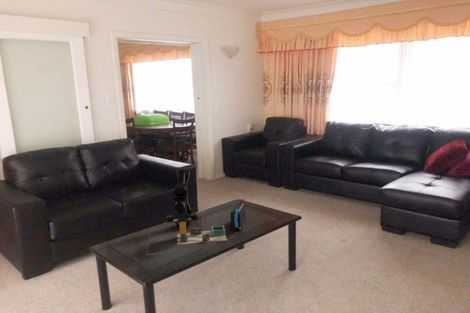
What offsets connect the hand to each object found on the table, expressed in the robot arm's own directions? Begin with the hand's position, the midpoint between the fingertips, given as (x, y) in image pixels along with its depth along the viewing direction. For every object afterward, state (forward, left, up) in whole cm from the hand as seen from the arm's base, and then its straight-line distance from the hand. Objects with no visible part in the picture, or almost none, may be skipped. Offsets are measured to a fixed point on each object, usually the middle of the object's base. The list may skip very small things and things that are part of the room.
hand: (183, 230), depth 231 cm
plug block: (0, 0, -2) cm, 2 cm away
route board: (+3, +11, -5) cm, 13 cm away
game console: (-15, +38, -5) cm, 41 cm away
